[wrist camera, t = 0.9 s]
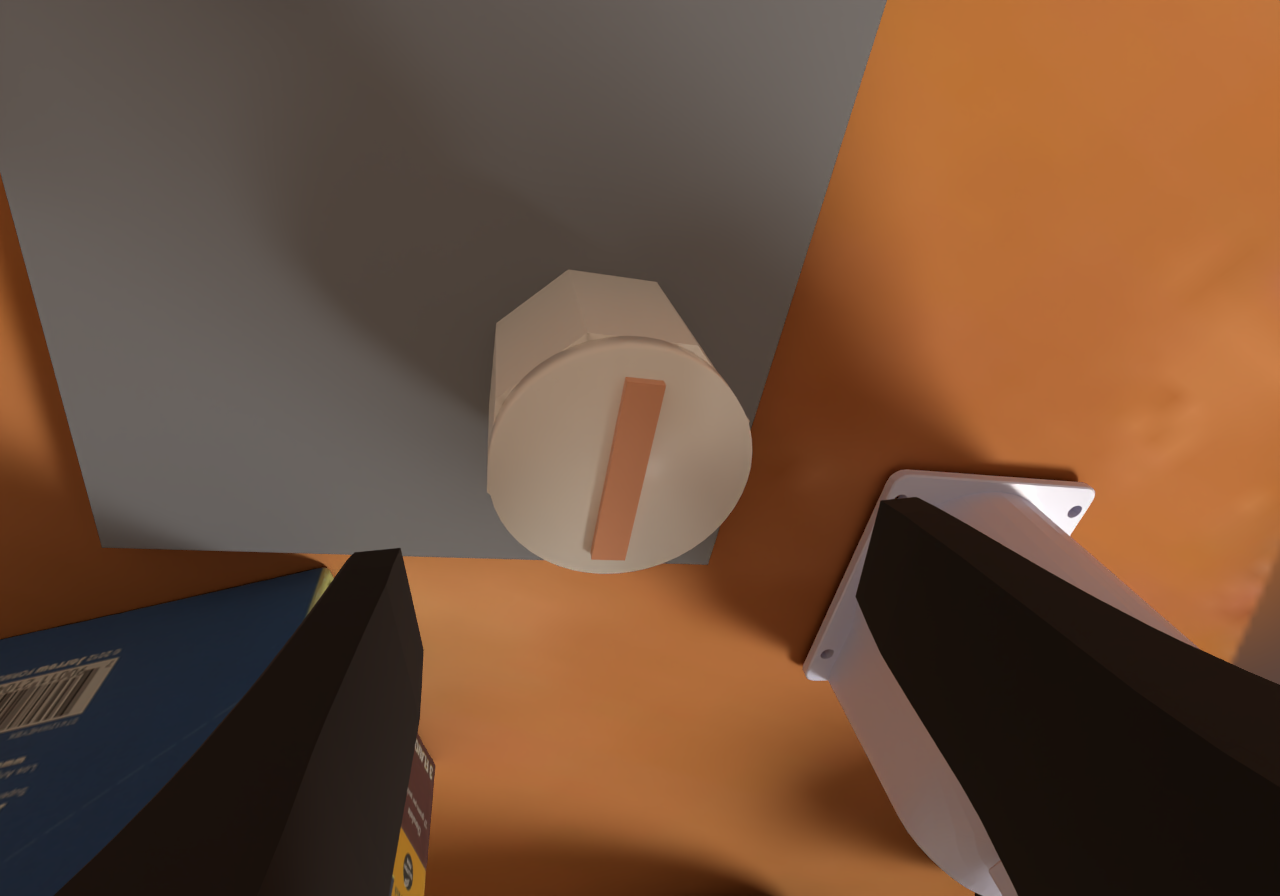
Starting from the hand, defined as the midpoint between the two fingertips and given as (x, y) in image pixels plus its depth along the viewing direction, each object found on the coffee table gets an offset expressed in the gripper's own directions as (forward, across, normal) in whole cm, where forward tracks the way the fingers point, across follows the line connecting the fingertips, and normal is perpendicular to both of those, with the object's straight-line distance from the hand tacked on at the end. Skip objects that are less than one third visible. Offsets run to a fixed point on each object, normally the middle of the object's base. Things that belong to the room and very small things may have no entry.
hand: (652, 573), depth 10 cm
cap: (+7, 0, 0) cm, 7 cm away
